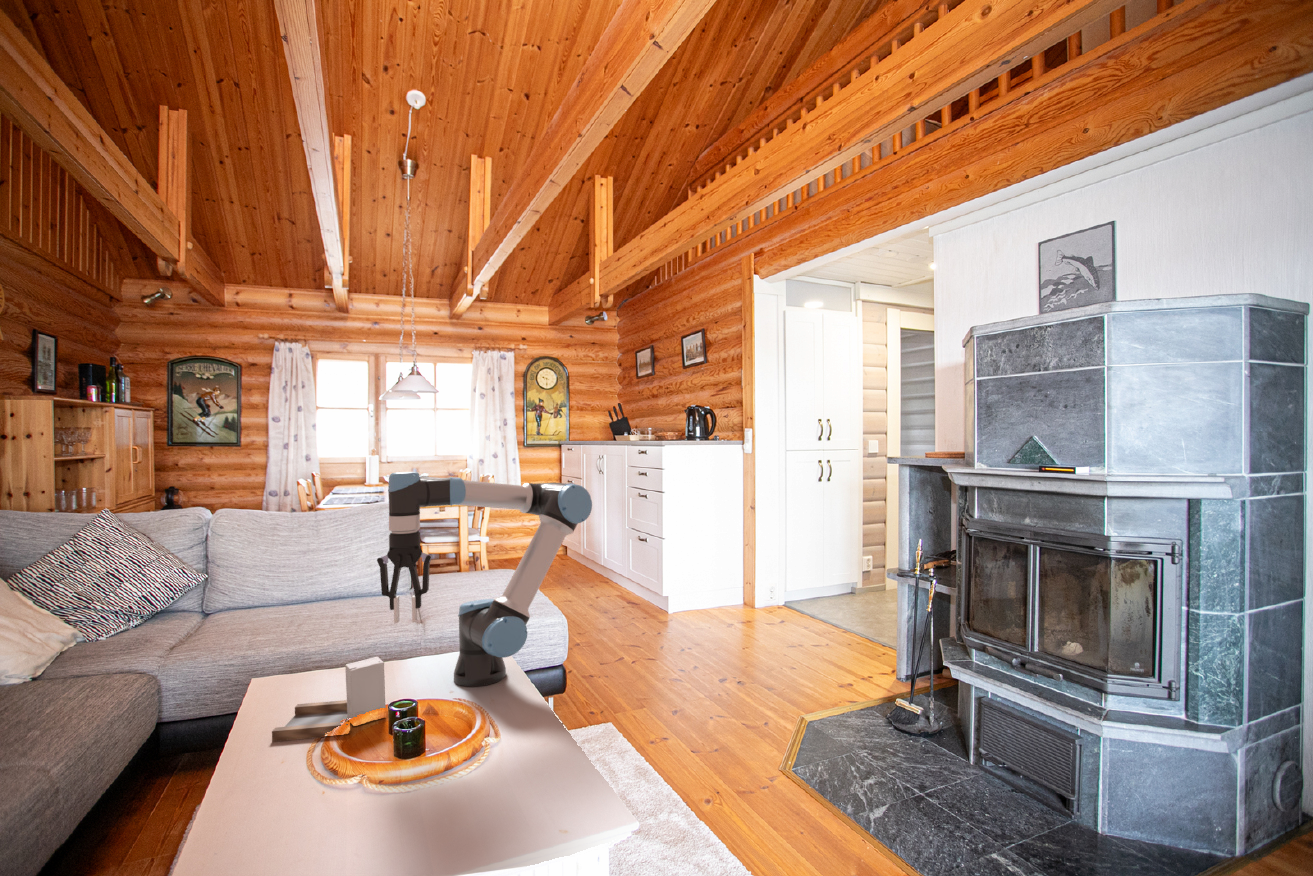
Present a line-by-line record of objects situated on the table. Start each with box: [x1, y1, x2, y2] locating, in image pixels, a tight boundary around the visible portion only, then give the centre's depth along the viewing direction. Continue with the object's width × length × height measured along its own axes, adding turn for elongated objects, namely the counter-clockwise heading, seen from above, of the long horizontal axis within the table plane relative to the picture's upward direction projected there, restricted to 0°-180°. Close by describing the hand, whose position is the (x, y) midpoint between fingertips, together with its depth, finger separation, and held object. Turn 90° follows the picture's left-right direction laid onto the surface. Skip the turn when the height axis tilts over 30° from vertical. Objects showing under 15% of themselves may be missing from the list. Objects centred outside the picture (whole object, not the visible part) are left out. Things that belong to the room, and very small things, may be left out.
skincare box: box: [344, 656, 387, 720], centre depth 161 cm, size 8×6×15 cm
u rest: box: [271, 699, 348, 743], centre depth 159 cm, size 17×16×2 cm
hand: (405, 621), depth 163 cm, fingers open, 4 cm apart
